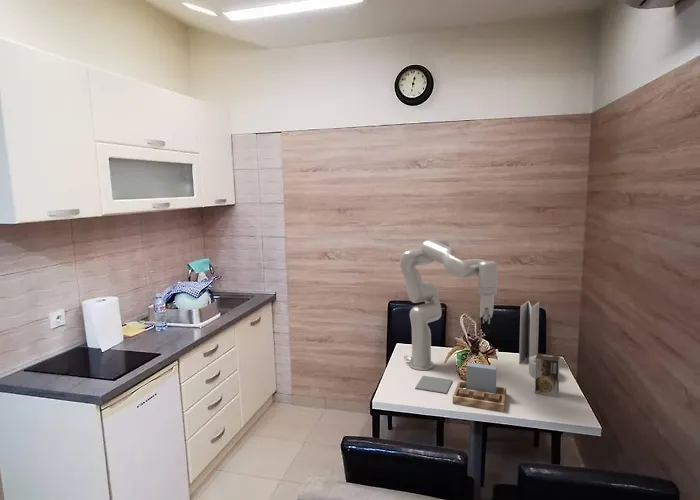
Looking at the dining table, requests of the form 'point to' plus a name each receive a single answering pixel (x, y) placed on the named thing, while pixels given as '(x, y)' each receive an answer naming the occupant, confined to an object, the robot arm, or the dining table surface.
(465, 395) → the offcut
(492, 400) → the offcut
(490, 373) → the panel
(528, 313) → the brochure
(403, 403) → the dining table surface
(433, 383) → the mat
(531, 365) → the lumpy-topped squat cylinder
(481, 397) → the offcut
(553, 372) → the cookie box
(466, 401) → the tray
